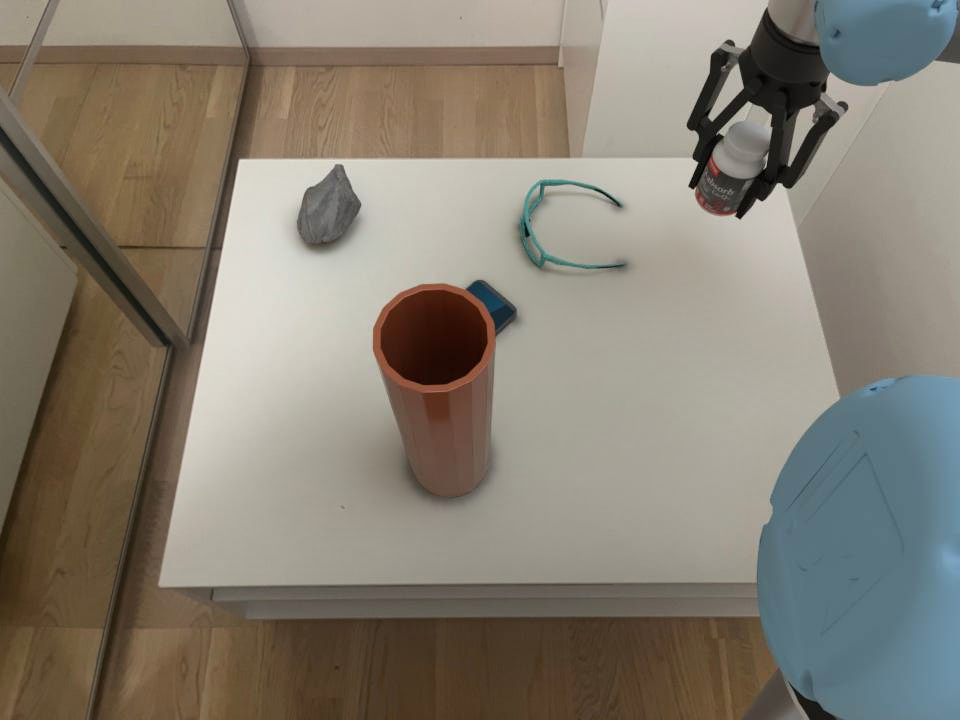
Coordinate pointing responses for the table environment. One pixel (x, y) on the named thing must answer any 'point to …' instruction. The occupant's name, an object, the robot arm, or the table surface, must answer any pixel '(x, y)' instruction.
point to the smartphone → (494, 304)
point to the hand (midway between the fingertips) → (720, 195)
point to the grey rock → (328, 208)
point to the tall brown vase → (439, 382)
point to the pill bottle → (733, 168)
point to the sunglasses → (527, 232)
